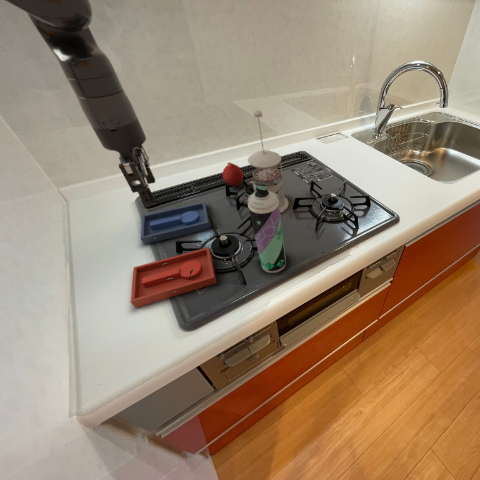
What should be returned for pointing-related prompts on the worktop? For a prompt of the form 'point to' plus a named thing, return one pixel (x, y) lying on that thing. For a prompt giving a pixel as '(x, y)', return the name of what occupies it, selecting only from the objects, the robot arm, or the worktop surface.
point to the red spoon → (174, 274)
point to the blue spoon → (176, 220)
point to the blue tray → (175, 230)
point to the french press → (268, 170)
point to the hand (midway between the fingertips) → (150, 192)
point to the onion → (233, 174)
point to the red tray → (166, 289)
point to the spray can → (267, 229)
